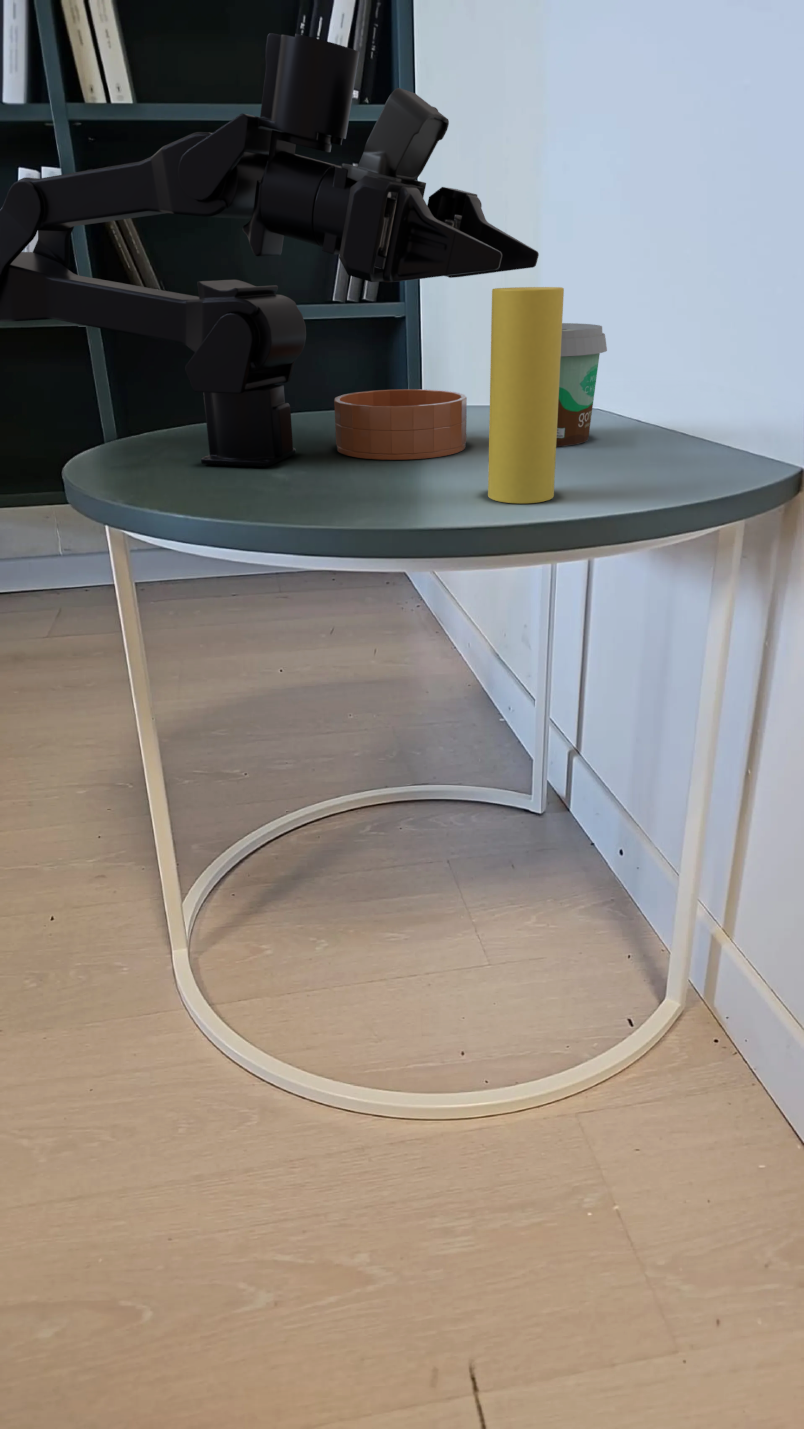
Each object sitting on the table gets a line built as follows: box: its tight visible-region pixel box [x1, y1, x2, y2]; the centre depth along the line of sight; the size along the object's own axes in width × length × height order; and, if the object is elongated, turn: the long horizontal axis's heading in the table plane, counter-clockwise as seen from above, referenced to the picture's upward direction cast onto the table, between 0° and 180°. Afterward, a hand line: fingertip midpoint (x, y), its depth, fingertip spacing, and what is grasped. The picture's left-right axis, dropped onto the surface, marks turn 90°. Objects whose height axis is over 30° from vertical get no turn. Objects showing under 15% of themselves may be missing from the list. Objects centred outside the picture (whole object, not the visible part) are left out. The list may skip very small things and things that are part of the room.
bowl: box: [333, 388, 468, 461], centre depth 89 cm, size 12×12×4 cm
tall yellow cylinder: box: [487, 286, 565, 505], centre depth 68 cm, size 5×5×14 cm
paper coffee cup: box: [556, 322, 608, 447], centre depth 90 cm, size 12×6×10 cm, turn 168°
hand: (519, 260), depth 70 cm, fingers open, 9 cm apart
